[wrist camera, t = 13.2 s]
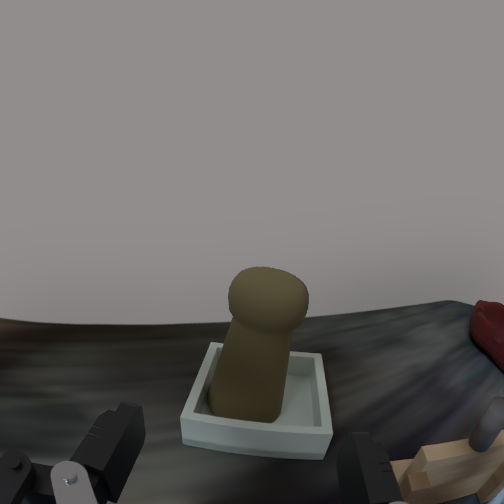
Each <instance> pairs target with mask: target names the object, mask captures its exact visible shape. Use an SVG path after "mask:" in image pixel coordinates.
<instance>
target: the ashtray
mask: <svg viewBox="0 0 504 504" xmlns="http://www.w3.org/2000/svg"><path fill="white" fill-rule="evenodd" d="M470 332H471V335H472V337H473V339H474V340H475V342H476V343H477V344H478V345H479V346H480V347H481V348H482V349H483V350H484V351H485V352H486V353H487V354H488V355H489V356H490V357H491V358H492V359H493V360H494V361H495V362H496V364H497V365H498V366H499V367H500V368H501V369H502V371H503V372H504V305H503V304H501V303H498V302H487V301H482V300H479V301H478V302H477V303H476V305H475V307H474V309H473V312H472V315H471V319H470Z"/></svg>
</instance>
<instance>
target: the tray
mask: <svg viewBox="0 0 504 504" xmlns="http://www.w3.org/2000/svg"><path fill="white" fill-rule="evenodd" d="M222 347H223V344H221V343H214V342H211V344H210V346H209V348H208V351H207V353H206V356H205V358H204V361H203V363H202V365H201V368H200V370H199V373H198V375H197V378H196V380H195V382H194V385H193V387H192V390H191V392H190V395H189V397H188V399H187V402H186V404H185V407H184V409H183V412H182V414H181V417H180V421H181V431H182V441H183V444H185V445H189V446H194V447H200V448H205V449H211V450H217V451H223V452H230V453H237V454H244V455H253V456H262V457H273V458H287V459H307V460H323V459H324V456H325V454H326V451H327V449H328V446H329V444H330V441H331V439H332V436H333V429H332V422H331V415H330V408H329V401H328V394H327V387H326V381H325V374H324V368H323V362H322V356H321V354H317V353H304V352H292V351H290V356H289V363H288V370H287V376H286V383H285V390H284V396H283V402H282V408H281V414H280V415H279V417H278V418H277V419H276V421H274V422H273V423H261V422H252V421H244V420H236V419H229V418H222V417H216V416H215V415H214V414H213V413H212V412H211V411H210V409H209V407H208V404H207V392H208V389H209V386H210V383H211V380H212V377H213V374H214V371H215V368H216V365H217V362H218V359H219V356H220V353H221V350H222Z"/></svg>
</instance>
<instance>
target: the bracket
mask: <svg viewBox="0 0 504 504" xmlns="http://www.w3.org/2000/svg"><path fill="white" fill-rule="evenodd" d="M503 427H504V397H500V396H498V397H495V398H494V399H493V400H492V402H491V404H490V405H489V407H488V409H487V411H486V412H485V414H484V416H483V417H482V419H481V421H480V422H479V424H478V425H477V427H476V429H475V430H474V432H473V433H472V435H471V436H470V438H468V439H463V440H458V441H452V442H446V443H440V444H434V445H427V446H422V447H421V448H420V450H419V451H418V453H417V455H416V456H415V458H414V459H407V460H398V461H390V464H392V467H393V472H394V473H395V476H396V479H397V482H398V486H399V489H400V492H401V495H402V498H403V500H404V502H406V503H408V504H438V503H442V502H446V501H450V500H454V499H457V498H461V497H464V496H468V495H471V494H474V493H476V494H477V496H478V499H479V501H480V504H482V503H485V502H487V501H490V500H492V499H493V498H494V497H495V496H496V495H497V494H498V493H499V492H500V491H501V490H502V489H503V488H504V430H502V429H503Z"/></svg>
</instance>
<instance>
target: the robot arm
mask: <svg viewBox="0 0 504 504" xmlns="http://www.w3.org/2000/svg"><path fill="white" fill-rule="evenodd" d="M144 440H145V425H144V418H143V411H142V407H141V406H139V405H135V404H131V403H128V402H124V401H123V402H121V404H120V405H119V407H118V408H117V410H116V412H114V411H111V410H108V411H106V412H105V413H103V414H102V415H100V416H99V417H98V418H97V420H96V421H95V423H94V424H93V427H91V429H90V430H89V432H88V434H87V435H86V436H85V438H84V439H83V441H82V442H81V444H80V445H79V447H78V448H77V450H76V452H75V453H74V455H73V456H72V458H71V459H70V460H69V461H63V462H60V463H58V464H56V465H55V466H47V465H42V464H37V463H32V462H31V461H30V459H29V458H28V456H27V455H26V454H24V453H22V452H20V451H9V452H6V453H5V454H3V455H2V456H1V458H0V504H106V503H107V501H111V502H114V503H117V501H118V499H119V497H120V494H121V492H122V490H123V488H124V486H125V483H126V481H127V479H128V477H129V475H130V472H131V470H132V468H133V466H134V464H135V461H136V459H137V457H138V455H139V453H140V450H141V448H142V446H143V444H144ZM337 473H338V479H339V485H340V491H341V497H342V503H343V504H408V503H406V502H404V500H403V498H402V495H401V492H400V489H399V486H398V482H397V479H396V476H395V473H394V472H393V467H392V464H390V459H389V456H388V453H387V451H386V450H385V449H384V448H383V447H382V446H381V445H380V443H377V444H373V442H372V439H371V436H370V433H369V432H349V433H348V435H347V437H346V440H345V442H344V444H343V446H342V449H341V451H340V453H339V455H338V459H337Z"/></svg>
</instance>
